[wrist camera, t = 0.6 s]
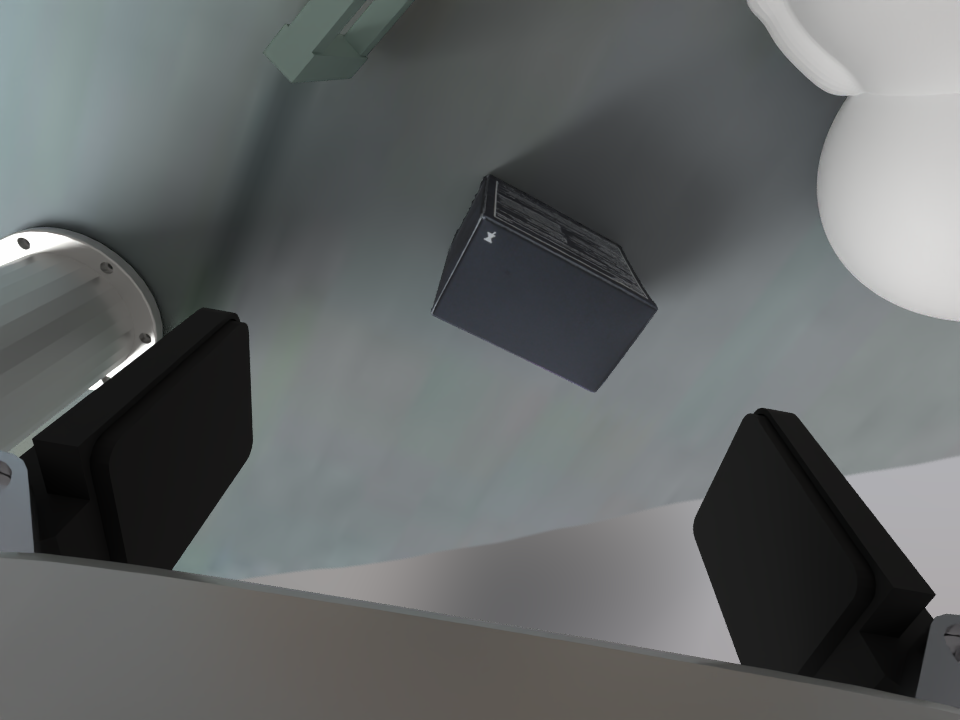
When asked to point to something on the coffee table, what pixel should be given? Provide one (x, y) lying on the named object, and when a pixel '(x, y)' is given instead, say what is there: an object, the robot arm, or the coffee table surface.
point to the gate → (331, 38)
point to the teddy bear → (886, 138)
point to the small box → (541, 287)
